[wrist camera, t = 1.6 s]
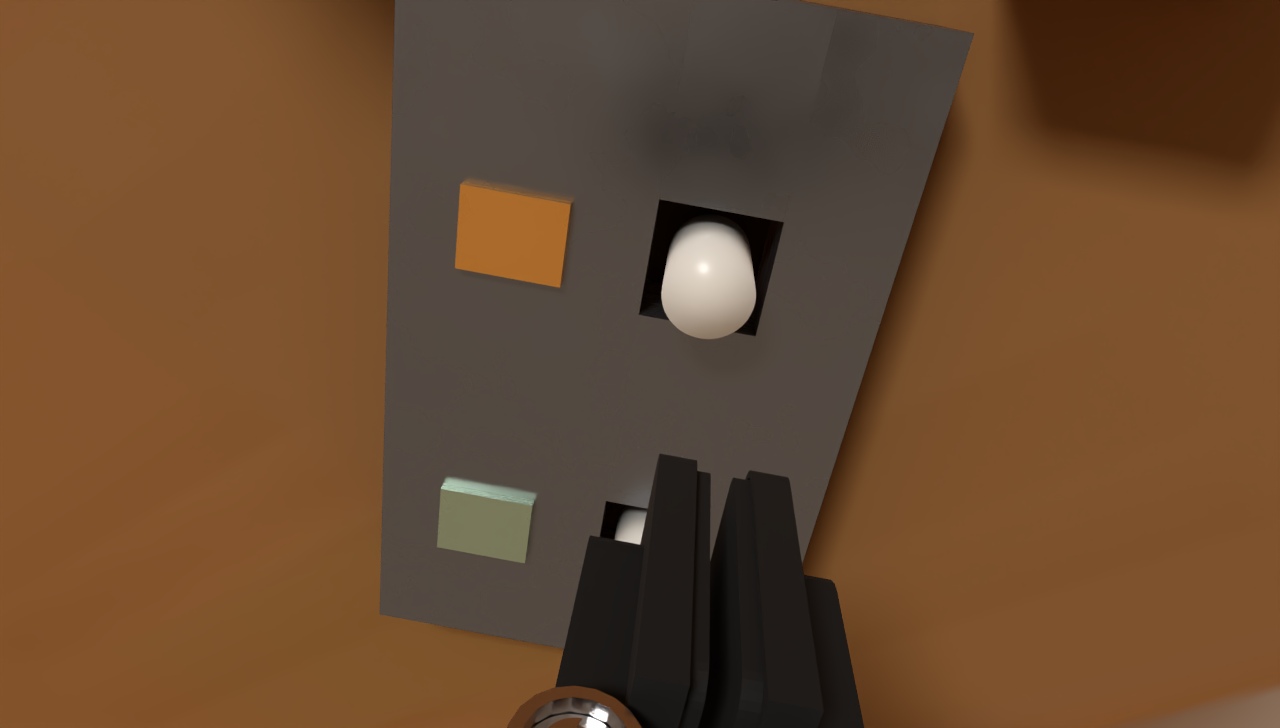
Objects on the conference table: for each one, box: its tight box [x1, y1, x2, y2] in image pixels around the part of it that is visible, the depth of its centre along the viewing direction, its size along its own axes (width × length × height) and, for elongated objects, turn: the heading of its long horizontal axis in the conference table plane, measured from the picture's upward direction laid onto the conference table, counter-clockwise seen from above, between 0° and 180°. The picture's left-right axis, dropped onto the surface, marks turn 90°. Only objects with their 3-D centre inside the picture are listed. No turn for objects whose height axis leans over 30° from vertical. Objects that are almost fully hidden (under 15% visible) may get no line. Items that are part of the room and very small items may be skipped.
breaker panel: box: [380, 0, 974, 649], centre depth 25 cm, size 14×22×3 cm, turn 170°
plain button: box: [614, 505, 647, 544], centre depth 26 cm, size 2×2×3 cm
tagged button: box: [661, 214, 756, 339], centre depth 22 cm, size 2×2×3 cm
